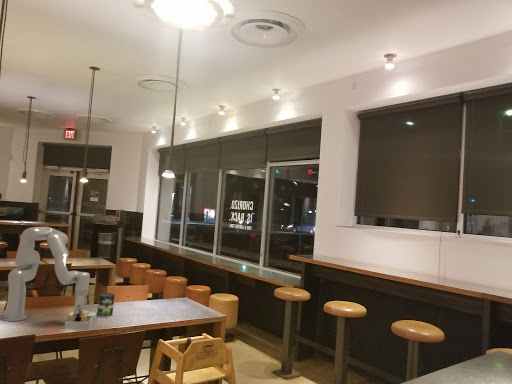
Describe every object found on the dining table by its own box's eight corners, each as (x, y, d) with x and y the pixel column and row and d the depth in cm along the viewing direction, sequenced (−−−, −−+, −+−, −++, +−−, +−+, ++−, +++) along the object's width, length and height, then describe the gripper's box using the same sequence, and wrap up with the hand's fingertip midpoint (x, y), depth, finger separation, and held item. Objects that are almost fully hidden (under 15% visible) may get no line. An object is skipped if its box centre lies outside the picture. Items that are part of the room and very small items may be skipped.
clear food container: (67, 322, 251) (68, 313, 252) (70, 318, 260) (71, 309, 261) (94, 322, 255) (94, 313, 255) (96, 318, 264) (97, 310, 264)
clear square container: (64, 328, 238) (65, 321, 238) (69, 321, 252) (70, 315, 252) (89, 328, 241) (90, 321, 242) (93, 322, 255) (94, 315, 256)
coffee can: (113, 317, 269) (115, 296, 270) (97, 317, 265) (99, 296, 265) (111, 312, 279) (113, 292, 279) (95, 313, 274) (98, 292, 275)
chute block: (71, 324, 243) (72, 314, 244) (73, 322, 248) (74, 312, 249) (85, 324, 245) (86, 314, 245) (86, 322, 250) (87, 312, 250)
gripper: (77, 289, 255) (75, 318, 254) (72, 295, 239) (69, 326, 238) (90, 290, 257) (87, 318, 256) (85, 295, 240) (82, 326, 239)
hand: (78, 321), depth 247 cm, fingers closed on chute block, 5 cm apart
